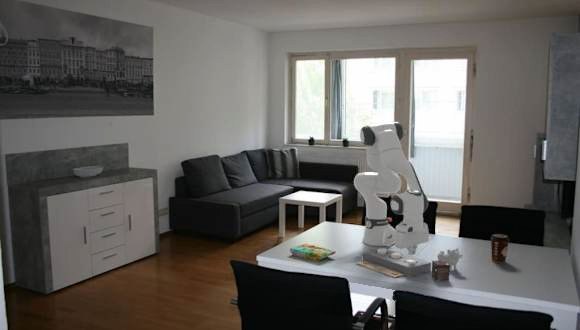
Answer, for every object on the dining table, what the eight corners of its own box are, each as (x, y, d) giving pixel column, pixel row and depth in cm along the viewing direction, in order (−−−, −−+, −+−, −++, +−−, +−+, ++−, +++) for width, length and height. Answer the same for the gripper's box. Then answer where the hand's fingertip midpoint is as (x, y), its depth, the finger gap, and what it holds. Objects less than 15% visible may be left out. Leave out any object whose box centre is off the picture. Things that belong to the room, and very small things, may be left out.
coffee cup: (507, 259, 255) (509, 234, 253) (508, 264, 247) (510, 238, 246) (488, 258, 258) (490, 232, 256) (489, 262, 250) (491, 236, 248)
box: (431, 276, 229) (431, 260, 228) (444, 276, 230) (444, 260, 229) (436, 281, 223) (436, 264, 222) (449, 280, 224) (450, 264, 223)
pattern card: (365, 261, 249) (365, 260, 249) (403, 275, 230) (404, 273, 230) (356, 264, 245) (356, 262, 245) (394, 278, 226) (395, 276, 226)
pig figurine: (456, 273, 233) (457, 251, 232) (435, 266, 244) (436, 244, 242) (464, 272, 236) (465, 249, 234) (443, 264, 246) (444, 243, 245)
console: (382, 255, 260) (382, 247, 260) (430, 270, 236) (431, 262, 236) (362, 260, 252) (362, 252, 251) (410, 276, 228) (411, 268, 228)
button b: (395, 258, 247) (395, 252, 246) (402, 260, 243) (402, 254, 243) (389, 259, 244) (389, 253, 244) (396, 262, 241) (396, 256, 240)
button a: (381, 253, 254) (381, 247, 254) (388, 256, 250) (388, 250, 250) (375, 255, 251) (375, 249, 251) (381, 257, 248) (382, 251, 247)
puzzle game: (304, 242, 267) (335, 249, 254) (304, 250, 268) (335, 258, 255) (289, 246, 258) (321, 254, 245) (289, 255, 259) (321, 264, 246)
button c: (409, 265, 240) (410, 259, 239) (417, 267, 236) (417, 261, 236) (403, 267, 237) (403, 260, 237) (411, 269, 234) (411, 263, 233)
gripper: (421, 220, 243) (420, 248, 245) (393, 227, 231) (391, 256, 233) (432, 223, 239) (431, 251, 240) (404, 230, 226) (402, 260, 228)
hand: (411, 254), depth 237 cm, fingers closed
